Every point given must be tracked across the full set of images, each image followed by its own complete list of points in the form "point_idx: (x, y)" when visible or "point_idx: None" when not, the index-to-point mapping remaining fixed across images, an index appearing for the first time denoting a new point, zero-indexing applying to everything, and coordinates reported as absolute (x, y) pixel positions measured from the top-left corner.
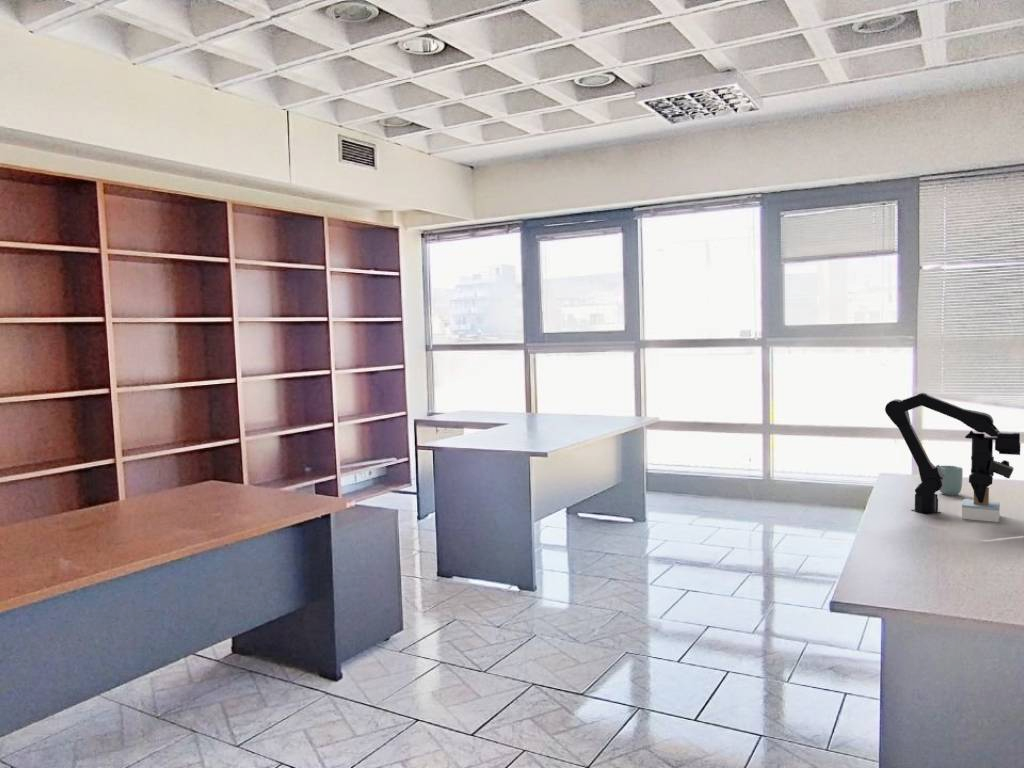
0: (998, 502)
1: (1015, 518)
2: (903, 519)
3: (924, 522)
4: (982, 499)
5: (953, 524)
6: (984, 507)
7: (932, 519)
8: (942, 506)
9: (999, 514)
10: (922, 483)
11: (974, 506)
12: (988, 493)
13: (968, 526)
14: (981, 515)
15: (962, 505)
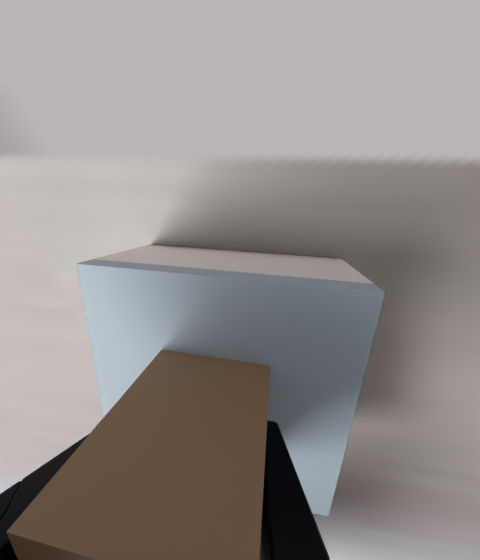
0: (100, 276)
1: (145, 157)
2: None
3: (423, 547)
4: (287, 458)
5: (437, 463)
6: (357, 398)
7: (345, 512)
8: (72, 439)
9: (190, 252)
10: None
11: (342, 455)
12: (255, 496)
13: (474, 412)
14: None
15: (327, 510)
